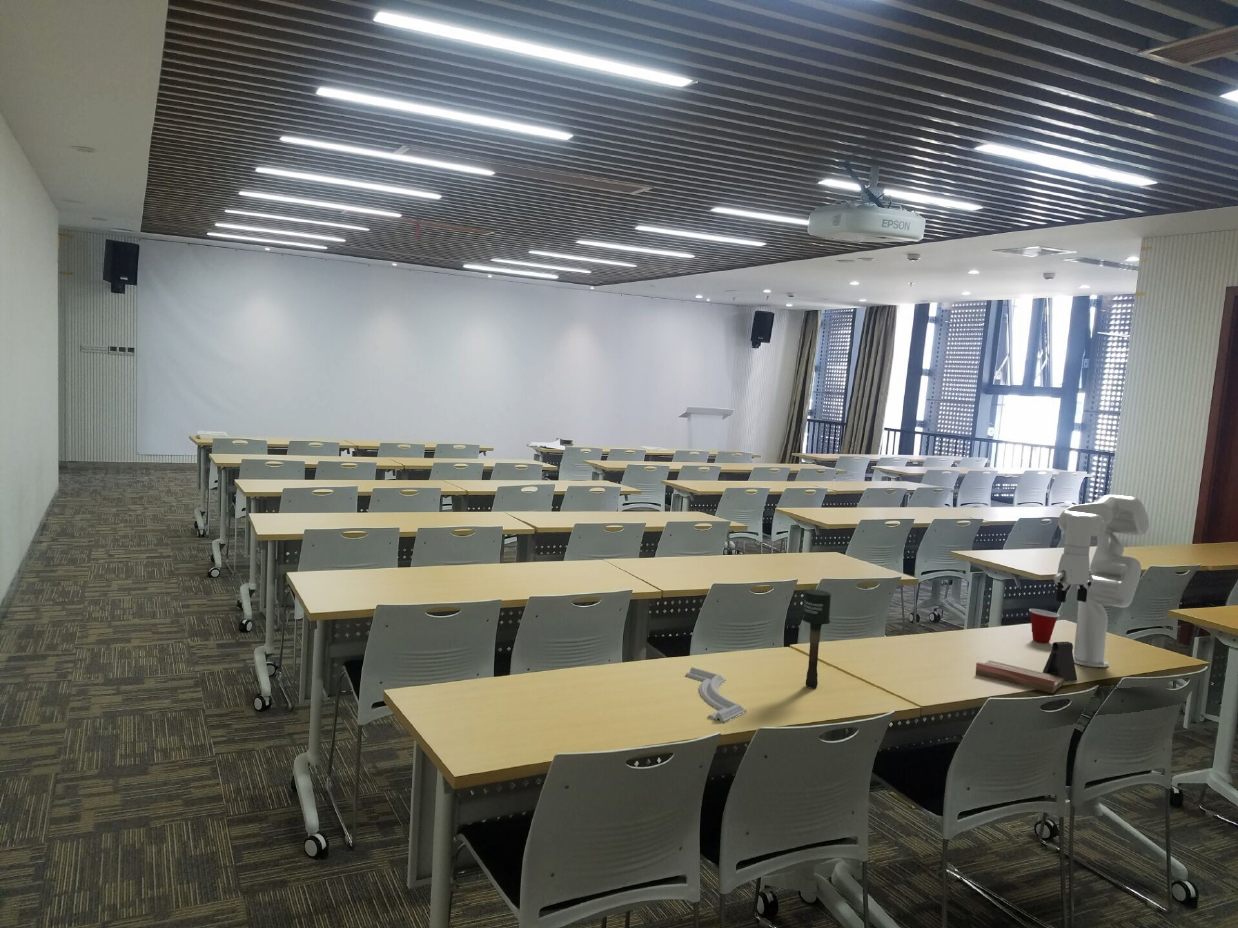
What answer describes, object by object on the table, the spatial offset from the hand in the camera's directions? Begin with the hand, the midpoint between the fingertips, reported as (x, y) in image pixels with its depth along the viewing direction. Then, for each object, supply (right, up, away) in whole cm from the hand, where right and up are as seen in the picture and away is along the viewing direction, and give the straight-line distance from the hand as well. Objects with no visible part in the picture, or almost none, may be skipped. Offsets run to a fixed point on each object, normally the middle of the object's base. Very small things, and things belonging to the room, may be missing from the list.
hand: (1071, 601), depth 291 cm
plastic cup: (+13, -23, +47) cm, 54 cm away
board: (-18, -26, -2) cm, 32 cm away
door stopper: (-2, -26, +3) cm, 27 cm away
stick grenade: (-92, -24, -21) cm, 97 cm away
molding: (-125, -23, -34) cm, 132 cm away
